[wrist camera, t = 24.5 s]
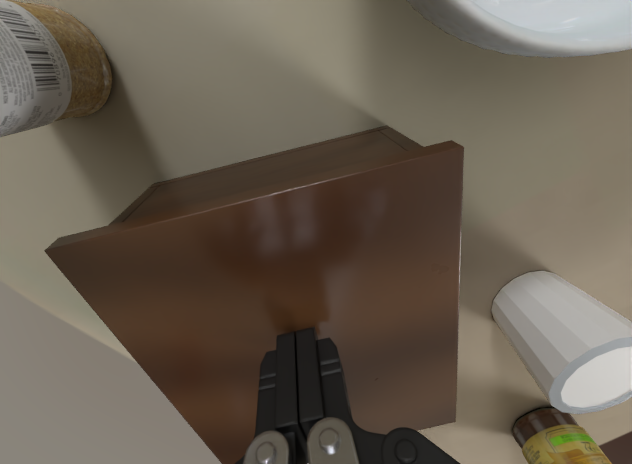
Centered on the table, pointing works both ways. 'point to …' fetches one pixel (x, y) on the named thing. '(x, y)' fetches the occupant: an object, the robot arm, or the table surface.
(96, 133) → the table surface
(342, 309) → the chest lid
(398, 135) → the chest
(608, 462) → the sauce bottle
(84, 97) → the sprinkles bottle
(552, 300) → the shot glass
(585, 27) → the cereal bowl
